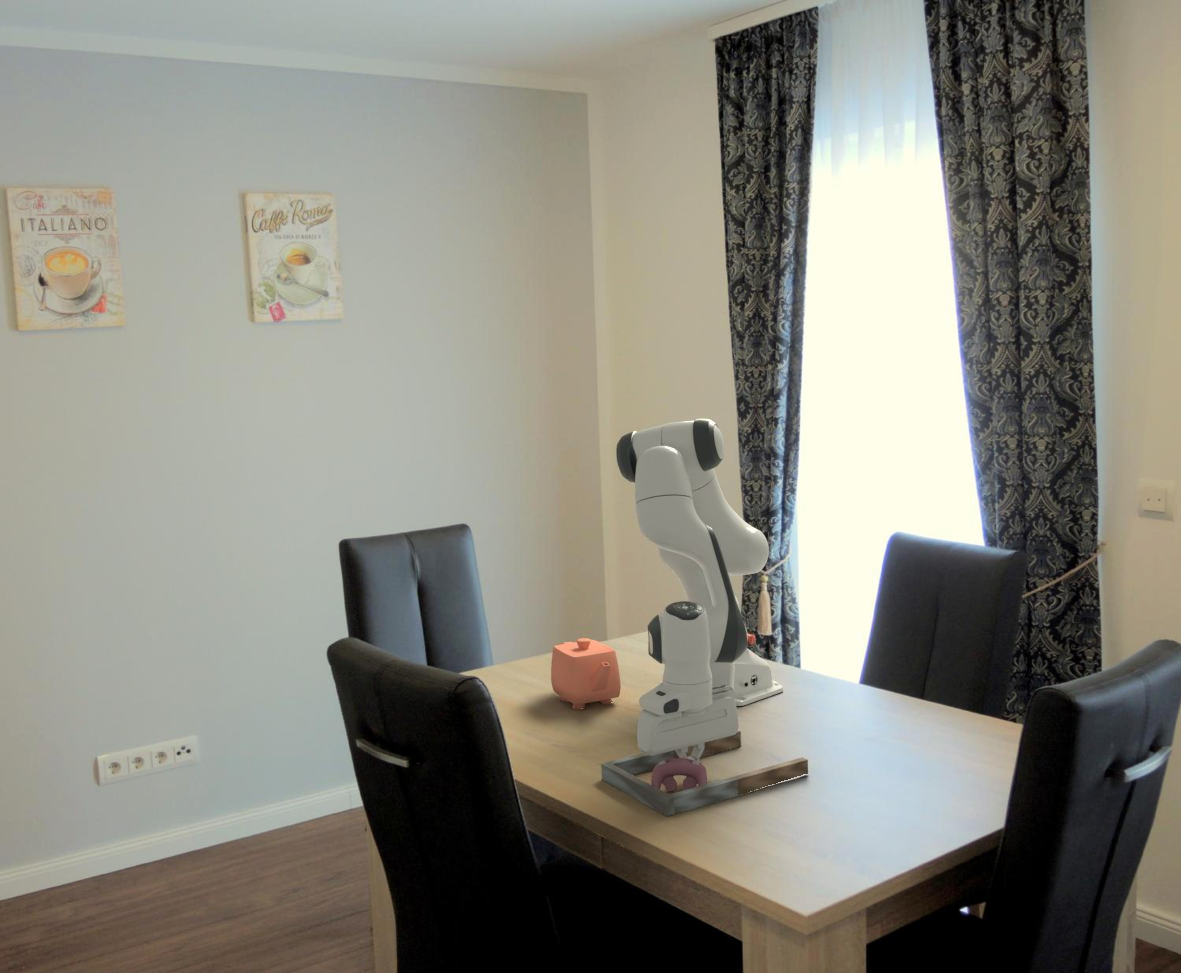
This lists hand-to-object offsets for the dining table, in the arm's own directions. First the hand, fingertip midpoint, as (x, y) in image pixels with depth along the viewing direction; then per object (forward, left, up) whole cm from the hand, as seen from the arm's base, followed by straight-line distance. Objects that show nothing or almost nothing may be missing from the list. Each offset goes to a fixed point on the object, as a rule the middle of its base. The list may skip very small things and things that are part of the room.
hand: (690, 767), depth 208 cm
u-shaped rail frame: (-2, 0, -3) cm, 3 cm away
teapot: (-9, -53, -3) cm, 54 cm away
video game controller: (+5, +3, -3) cm, 6 cm away
